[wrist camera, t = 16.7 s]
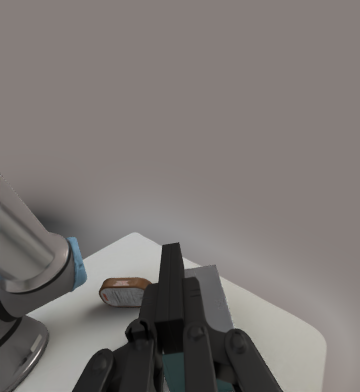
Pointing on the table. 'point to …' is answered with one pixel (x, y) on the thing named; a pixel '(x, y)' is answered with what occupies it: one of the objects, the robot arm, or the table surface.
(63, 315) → the table surface
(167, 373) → the box
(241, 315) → the table surface
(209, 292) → the box lid
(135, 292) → the tin
